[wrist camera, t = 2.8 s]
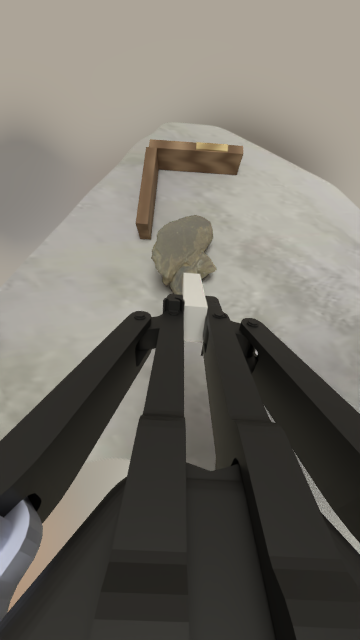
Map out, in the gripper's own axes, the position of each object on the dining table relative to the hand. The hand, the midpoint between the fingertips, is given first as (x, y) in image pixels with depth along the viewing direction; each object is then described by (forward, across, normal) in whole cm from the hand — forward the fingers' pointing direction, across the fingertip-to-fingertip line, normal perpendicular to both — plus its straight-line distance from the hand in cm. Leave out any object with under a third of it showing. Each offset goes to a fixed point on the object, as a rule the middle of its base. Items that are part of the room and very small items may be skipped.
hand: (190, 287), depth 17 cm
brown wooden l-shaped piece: (+28, 0, -8) cm, 29 cm away
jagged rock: (+18, 0, +3) cm, 18 cm away
